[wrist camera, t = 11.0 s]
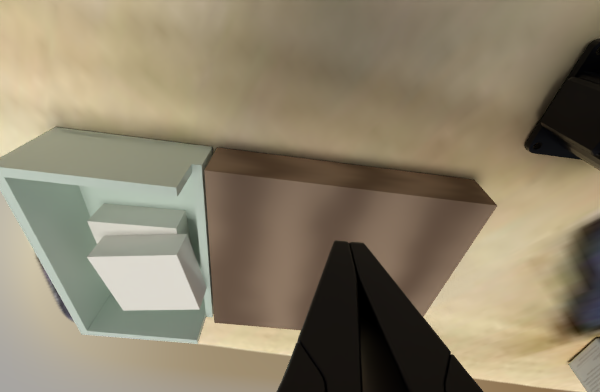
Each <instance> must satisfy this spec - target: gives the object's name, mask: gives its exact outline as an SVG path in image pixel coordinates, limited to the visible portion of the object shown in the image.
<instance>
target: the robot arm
mask: <svg viewBox="0 0 600 392" xmlns="http://www.w3.org/2000/svg"><path fill="white" fill-rule="evenodd" d="M599 47H600V39H597V40H594V41H593V42H592V43H590V44H589V45H588V47H587V48H586V49H585V51H584V53H583V54H582V56H581V57H580V59H579V60H578V62H577V64H576V65H575V67H574V68H573V70H572V71H571V73H570V75H569V76H568V78H567V79H566V81H565V82H564V84H563V85H562V87H561V89H560V90H559V92H558V93H557V95H556V96H555V98H554V100H553V101H552V103H551V104H550V106H549V107H548V109H547V111H546V112H545V114H544V115H543V117H542V118H541V120H540V122H539V123H538V125H537V126H536V128H535V129H534V131H533V133H532V134H531V136H530V137H529V139H528V140H527V142H526V144H525V148H526V149H527V150H528V151H530V152H531V153H536V154H543V155H551V156H558V157H566V158H573V159H581V160H584V161H586V162H587V163H589V164H590V165H592V166H594V167H595V168H597V169H598V170H600V50H599V51H598V52H597V53H596V51H597V49H598V48H599ZM536 143H538V144H537V145H536V146H534V145H535V144H536ZM533 146H534V147H533ZM450 354H451V352H450V350H449V349H448V348H447V346H446V345H445V344H444V343H443V341H442V340H441V339H440V338H439V336H438V335H437V334H436V333H435V331H434V330H433V329H432V328H431V326H430V325H429V324H428V323H427V321H426V320H425V319H424V318H423V316H422V315H421V314H420V312H419V311H418V310H417V309H416V307H415V306H414V305H413V304H412V302H411V301H410V300H409V299H408V297H407V296H406V295H405V294H404V292H403V291H402V290H401V289H400V287H399V286H398V285H397V284H396V282H395V281H394V280H393V279H392V277H391V276H390V275H389V274H388V272H387V271H386V270H385V269H384V267H383V266H382V265H381V264H380V262H379V261H378V260H377V259H376V257H375V256H374V255H373V253H372V252H371V251H370V250H369V248H368V247H367V246H366V245H365V244H364V243H362V242H349V243H348V242H347V241H339V240H335V241H334V242H333V245H332V248H331V250H330V253H329V256H328V259H327V261H326V264H325V267H324V270H323V272H322V275H321V278H320V280H319V283H318V286H317V289H316V291H315V294H314V297H313V300H312V302H311V305H310V308H309V311H308V313H307V316H306V319H305V322H304V324H303V327H302V330H301V332H300V335H299V338H298V341H297V343H296V346H295V348H294V351H293V354H292V357H291V359H290V362H289V364H288V367H287V369H286V372H285V375H284V376H283V379H282V382H281V384H280V386H279V388H278V390H277V392H483V391H482V389H481V388H480V387H479V386H478V385H477V383H476V382H475V381H474V380H473V378H472V377H471V376H470V375H469V374H468V372H467V371H466V370H465V369H464V368H463V366H462V365H461V364H460V362H459V361H458V360H457V359H456V357H455V356H454V355H452V354H451V355H450Z"/></svg>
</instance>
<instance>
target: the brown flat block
mask: <svg viewBox="0 0 600 392" xmlns="http://www.w3.org/2000/svg"><path fill="white" fill-rule="evenodd" d="M204 173H205V188H206V203H207V218H208V233H209V247H210V262H211V277H212V292H213V307H214V322H215V323H225V324H236V325H248V326H259V327H271V328H282V329H294V330H302V327H303V324H304V322H305V319H306V316H307V313H308V311H309V308H310V305H311V302H312V300H313V297H314V294H315V291H316V289H317V286H318V283H319V280H320V278H321V275H322V272H323V270H324V267H325V264H326V261H327V259H328V256H329V253H330V250H331V248H332V245H333V242H334V241H335V240H339V241H347V242H348V243H349V242H362V243H364V244H365V245H366V246H367V247H368V248H369V250H370V251H371V252H372V253H373V255H374V256H375V257H376V259H377V260H378V261H379V262H380V264H381V265H382V266H383V267H384V269H385V270H386V271H387V272H388V274H389V275H390V276H391V277H392V279H393V280H394V281H395V282H396V284H397V285H398V286H399V287H400V289H401V290H402V291H403V292H404V294H405V295H406V296H407V297H408V299H409V300H410V301H411V302H412V304H413V305H414V306H415V307H416V309H417V310H418V311H419V312H420V314H421V315H422V316H424V315H425V313H426V312H427V310H428V309H429V307H430V306H431V304H432V303H433V301H434V300H435V298H436V297H437V295H438V294H439V292H440V291H441V289H442V288H443V286H444V285H445V283H446V282H447V280H448V279H449V277H450V276H451V274H452V273H453V271H454V270H455V268H456V267H457V265H458V264H459V262H460V261H461V259H462V258H463V256H464V255H465V253H466V252H467V250H468V249H469V247H470V246H471V244H472V243H473V241H474V240H475V238H476V237H477V235H478V234H479V232H480V231H481V229H482V228H483V226H484V225H485V223H486V222H487V220H488V219H489V217H490V216H491V214H492V213H493V211H494V210H495V208H496V207H497V205H496V204H495V203H494V201H493V200H492V199H491V198H490V197H489V196H488V195H487V194H486V192H485V191H484V190H483V189H482V188H481V187H480V186H479V184H478V183H477V182H476V181H475V180H472V179H464V178H456V177H448V176H440V175H432V174H424V173H416V172H408V171H401V170H393V169H385V168H377V167H369V166H361V165H353V164H345V163H337V162H329V161H321V160H313V159H305V158H297V157H290V156H282V155H274V154H266V153H258V152H250V151H242V150H234V149H226V148H218V147H217V148H216V150H215V152H214V154H213V156H212V157H211V159H210V161H209V163H208V165H207V166H206V168H205V170H204Z"/></svg>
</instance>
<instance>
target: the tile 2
mask: <svg viewBox="0 0 600 392" xmlns="http://www.w3.org/2000/svg"><path fill="white" fill-rule="evenodd" d="M87 258H88V260H89V261H90V262H91V264H92V265H93V267H94V268H95V270H96V271H97V273H98V274H99V276H100V277H101V279H102V280H103V282H104V283H105V284H106V286H107V287H108V289H109V290H110V292H111V293H112V295H113V296H114V298H115V299H116V301H117V302H118V304H119V305H120V306H121V308H122V309H123V311H128V310H200V307H201V304H202V301H203V298H204V295H205V292H206V289H207V287H206V284H205V281H204V279H203V276H202V273H201V270H200V268H199V265H198V262H197V260H196V257H195V254H194V251H193V249H192V246H191V243H190V241H189V238H188V235H187V234H158V235H117V236H103V238H102V239H101V240H100V241H99V243H98V244H97V245H96V246H95V247H94V249H93V250H92V251H91V252H90V254H89V255H88V256H87Z"/></svg>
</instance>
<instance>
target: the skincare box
mask: <svg viewBox="0 0 600 392" xmlns="http://www.w3.org/2000/svg"><path fill="white" fill-rule="evenodd" d="M569 366H570V368H571V369H572V370H573V372H574V373H575V375H576V376H577V378H578V379H579V380H580V382H581V383H582V385H583V386H584V388H585V389H586V391H587V392H600V338H597V339H595V340H594V341H593V342H592V343H591V344H590V345H588V346H587V347H586V348H585V349H584V350H583V351H582V352H581V353H580V354H579V355H577V356H576V357H575V358H574V359H573V360H572V361H571V362H570V363H569Z"/></svg>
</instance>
